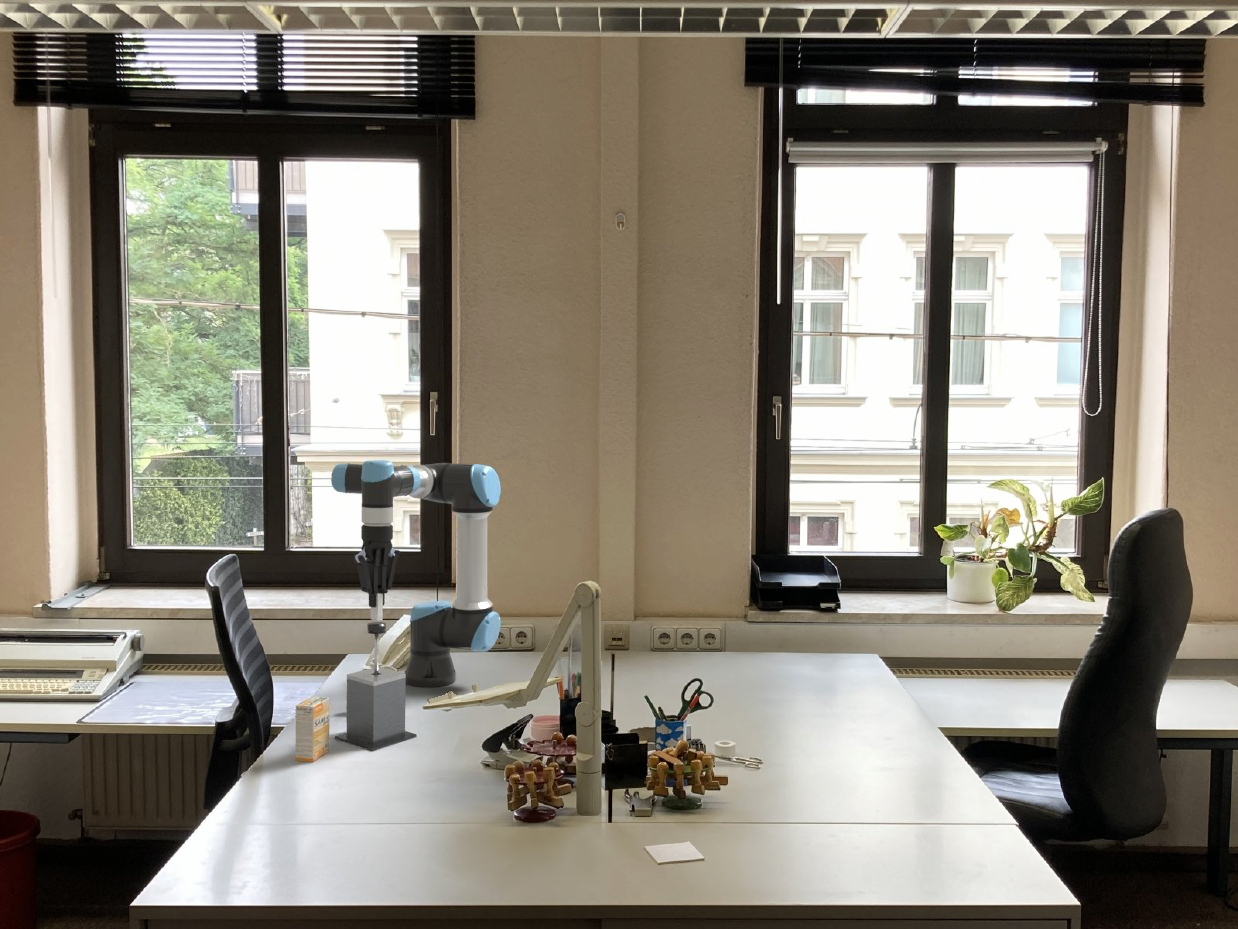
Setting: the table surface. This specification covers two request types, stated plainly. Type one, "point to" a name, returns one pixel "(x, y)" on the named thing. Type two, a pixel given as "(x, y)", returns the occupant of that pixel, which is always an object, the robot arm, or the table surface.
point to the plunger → (376, 639)
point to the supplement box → (312, 728)
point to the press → (375, 709)
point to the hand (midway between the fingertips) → (376, 619)
